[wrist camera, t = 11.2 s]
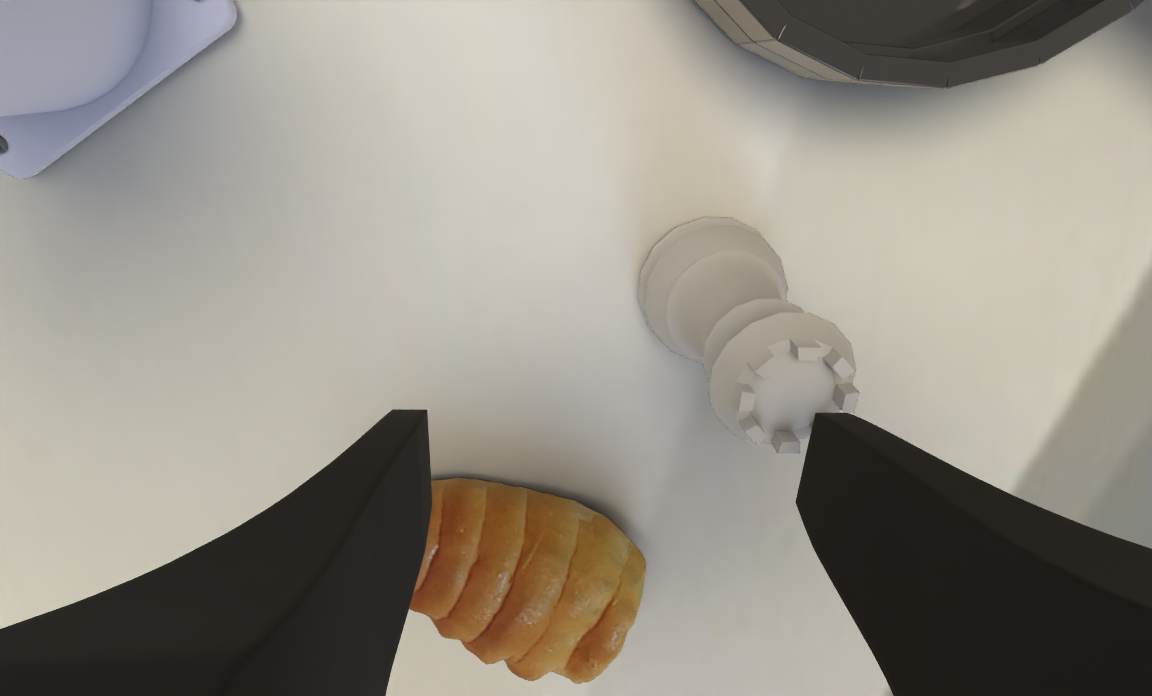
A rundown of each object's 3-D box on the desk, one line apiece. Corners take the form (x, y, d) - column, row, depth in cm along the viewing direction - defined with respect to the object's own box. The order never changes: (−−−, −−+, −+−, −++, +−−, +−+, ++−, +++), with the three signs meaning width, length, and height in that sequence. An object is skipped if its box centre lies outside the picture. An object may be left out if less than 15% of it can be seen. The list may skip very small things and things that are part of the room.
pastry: (356, 564, 24) (326, 647, 21) (430, 426, 22) (412, 492, 19) (572, 642, 27) (578, 728, 23) (658, 523, 24) (680, 599, 21)
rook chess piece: (736, 184, 19) (860, 257, 12) (795, 301, 21) (935, 427, 14) (609, 261, 20) (653, 374, 13) (676, 369, 22) (748, 523, 14)
